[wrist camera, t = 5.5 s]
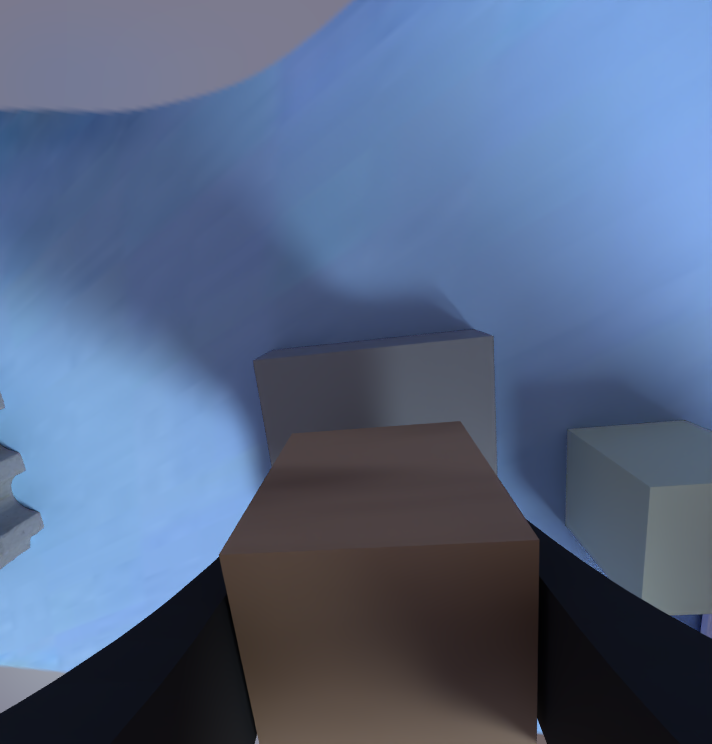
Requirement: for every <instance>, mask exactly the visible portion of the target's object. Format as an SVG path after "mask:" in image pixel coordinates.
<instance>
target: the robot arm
mask: <svg viewBox="0 0 712 744" xmlns="http://www.w3.org/2000/svg"><path fill="white" fill-rule="evenodd" d="M526 520H527V519H526ZM527 522H528V523H529V525H530V526H531V528H532V529H533V531H534V532H535V534H536V535H537V537H538V538H539V607H538V679H537V719H538V722H539V724H540V727H541V729H542V732H543V735H544V737H545V740H546V742H547V744H712V614H703V616H702V624H701V632H698V631H697V630H695V629H693V628H691V627H689V626H687V625H686V624H684V623H682V622H680V621H678V620H677V619H675V618H673V617H671V616H670V615H668V614H666V613H664V612H663V611H661V610H659V609H658V608H656V607H654V606H653V605H651V604H649V603H648V602H646V601H644V600H642V599H641V598H639V597H637V596H636V595H634V594H632V593H631V592H629V591H627V590H626V589H624V588H623V587H621V586H619V585H618V584H616V583H615V582H613V581H612V580H610V579H609V578H607V577H606V576H604V575H603V574H601V573H600V572H598V571H597V570H595V569H594V568H592V567H591V566H589V565H588V564H586V563H585V562H583V561H582V560H580V559H579V558H578V557H576V556H575V555H573V554H572V553H570V552H569V551H568V550H566V549H565V548H564V547H562V546H561V545H559V544H558V543H557V542H555V541H554V540H553V539H551V538H550V537H549V536H547V535H546V534H545V533H543V532H542V531H541V530H539V529H538V528H537V527H536V526H534V525H533V524H532V523H530V522H529V521H528V520H527ZM256 736H257V731H256V726H255V721H254V717H253V712H252V707H251V703H250V698H249V693H248V689H247V684H246V679H245V675H244V670H243V665H242V661H241V656H240V651H239V647H238V642H237V637H236V633H235V628H234V623H233V619H232V614H231V609H230V605H229V600H228V595H227V591H226V586H225V582H224V577H223V572H222V568H221V563H220V558H219V557H218V558H217V559H216V560H215V561H214V562H213V563H212V564H211V565H210V566H208V567H207V568H206V569H205V570H204V571H203V572H201V573H200V574H199V575H198V576H197V577H196V578H194V579H193V580H192V581H191V582H190V583H189V584H187V585H186V586H185V587H184V588H183V589H182V590H180V591H179V592H178V593H177V594H176V595H175V596H173V597H172V598H171V599H170V600H168V601H167V602H166V603H165V604H163V605H162V606H161V607H160V608H158V609H157V610H156V611H155V612H153V613H152V614H151V615H149V616H148V617H147V618H145V619H144V620H143V621H141V622H140V623H139V624H137V625H136V626H135V627H133V628H132V629H130V630H129V631H128V632H126V633H125V634H124V635H122V636H121V637H119V638H118V639H117V640H115V641H114V642H112V643H111V644H109V645H108V646H106V647H105V648H103V649H102V650H100V651H99V652H97V653H96V654H94V655H93V656H91V657H90V658H88V659H87V660H85V661H84V662H82V663H81V664H79V665H78V666H76V667H75V668H73V669H72V670H70V671H69V672H67V673H66V674H64V675H63V676H61V677H60V678H58V679H57V680H55V681H53V682H52V683H50V684H49V685H47V686H45V687H44V688H42V689H41V690H39V691H37V692H36V693H34V694H32V695H31V696H29V697H27V698H26V699H24V700H23V701H21V702H19V703H18V704H16V705H14V706H12V707H11V708H9V709H7V710H6V711H4V712H2V713H0V744H255V740H256Z"/></svg>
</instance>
